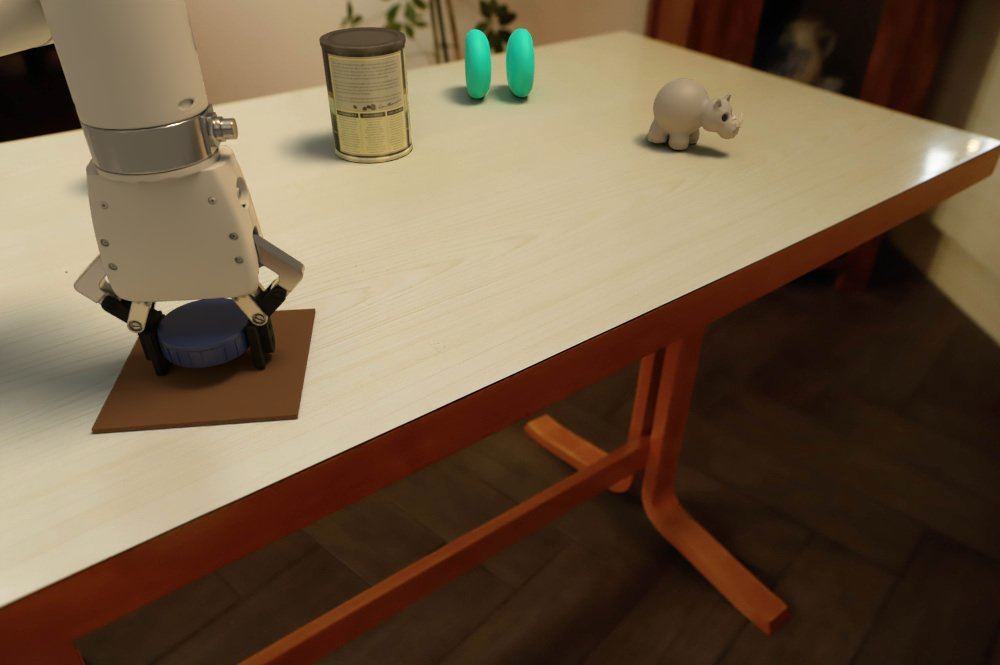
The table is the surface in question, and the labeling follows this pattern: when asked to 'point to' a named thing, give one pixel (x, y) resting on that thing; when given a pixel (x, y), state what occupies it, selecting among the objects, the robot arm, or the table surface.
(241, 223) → the robot arm
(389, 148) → the coffee can
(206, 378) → the cork mat
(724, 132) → the toy rhinoceros
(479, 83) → the donuts
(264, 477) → the table surface
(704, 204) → the table surface
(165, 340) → the jar lid
